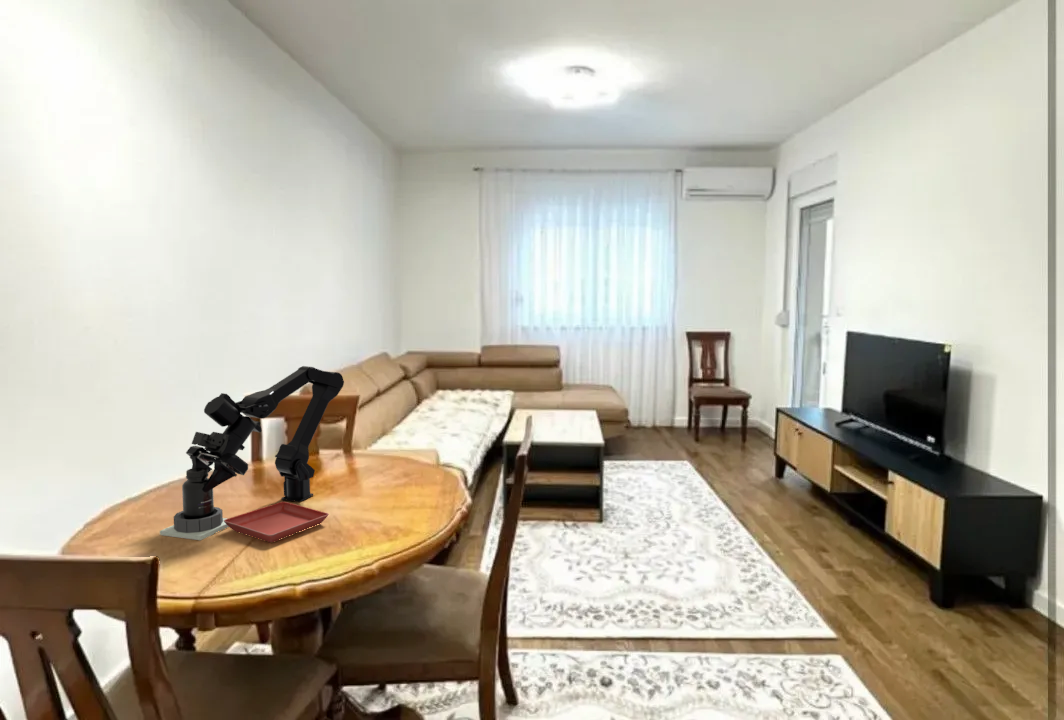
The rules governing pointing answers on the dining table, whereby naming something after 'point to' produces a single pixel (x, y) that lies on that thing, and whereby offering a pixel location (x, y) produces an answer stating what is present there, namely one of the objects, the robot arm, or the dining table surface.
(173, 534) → the board
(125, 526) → the dining table surface
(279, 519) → the plant saucer
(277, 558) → the dining table surface
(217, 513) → the collar
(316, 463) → the dining table surface
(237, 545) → the dining table surface
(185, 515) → the supplement bottle
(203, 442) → the robot arm
